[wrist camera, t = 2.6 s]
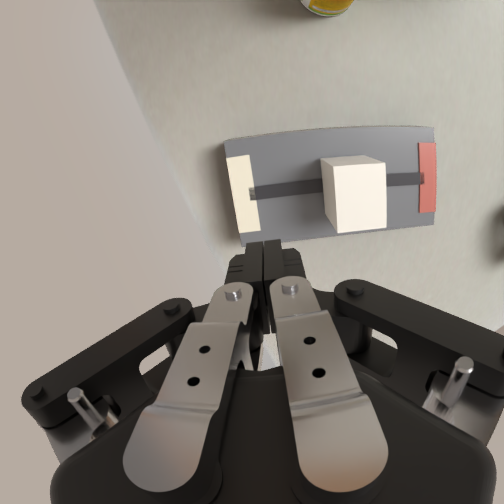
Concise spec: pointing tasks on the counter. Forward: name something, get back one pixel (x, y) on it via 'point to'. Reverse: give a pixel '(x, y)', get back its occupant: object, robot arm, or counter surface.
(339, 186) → the switch knob
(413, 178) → the switch box
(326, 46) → the counter surface
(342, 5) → the supplement bottle
